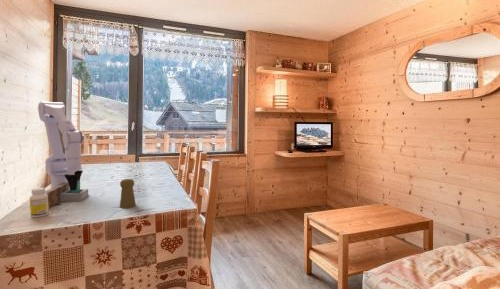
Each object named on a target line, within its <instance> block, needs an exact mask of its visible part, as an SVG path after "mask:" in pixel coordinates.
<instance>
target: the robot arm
mask: <svg viewBox="0 0 500 289" xmlns="http://www.w3.org/2000/svg"><path fill="white" fill-rule="evenodd" d="M37 111H38V112H37V113H38V116H39V120H40V121H42V122H43V123H44V126H45V130H46V136H47V139H48V145H49V151H50V155H49V156H48V157H47V158H45V162H44V163H45V172H46V174H47V175H49V176H50V189H51V188H53V187H55V186H57V185H59V184H61V183H68V184H69V190H76V189H77V182H78V181H80V182H81V177H82V174H83V172H84V170H83V167H82V153H81V152H82V151H81V144H82V143H83V140H84V135H83V133H82V131H81V130H78V129H76V127H75V125H74V124H73V122H72V121H71V120H70V119H67V117H66V114H65V113H66V105H65V103H64V102H62V101H61V102H57V101H54V102H53V101H42V100H41V101H40V102H39V103H38V105H37ZM60 133H61V134H62V138H61V136H60ZM61 140H62V141H61ZM62 143H63V145H62ZM63 146H64V147H63ZM63 148H64V149H65V153H64V151H63Z"/></svg>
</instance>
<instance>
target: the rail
mask: <svg viewBox="0 0 500 289" xmlns="http://www.w3.org/2000/svg"><path fill="white" fill-rule="evenodd" d="M66 190H69V184H68V183H61V184H59V185H57V186H55V187H53V188H51V187H50V188H49V189H47V190H45V194H47V195H48V205H49V209H50V208H52V207H53V206H54V205H56V204H58V203H59V202H61V201H60V194H61V193H63V192H65V191H66Z"/></svg>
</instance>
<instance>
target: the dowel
mask: <svg viewBox="0 0 500 289" xmlns="http://www.w3.org/2000/svg"><path fill="white" fill-rule="evenodd" d="M80 189H81V180H80V181H78V182H77V189H76V190H70V193H80Z"/></svg>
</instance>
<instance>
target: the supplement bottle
mask: <svg viewBox="0 0 500 289" xmlns="http://www.w3.org/2000/svg"><path fill="white" fill-rule="evenodd" d="M45 191H46V188H45V187H35V188H32V189H31V194H32V195H30V196H29V208H30V216H31V217H32V218H40V217H45V216H48V215H49V213H50V208H49V205H48V195H47V194H45Z"/></svg>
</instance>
